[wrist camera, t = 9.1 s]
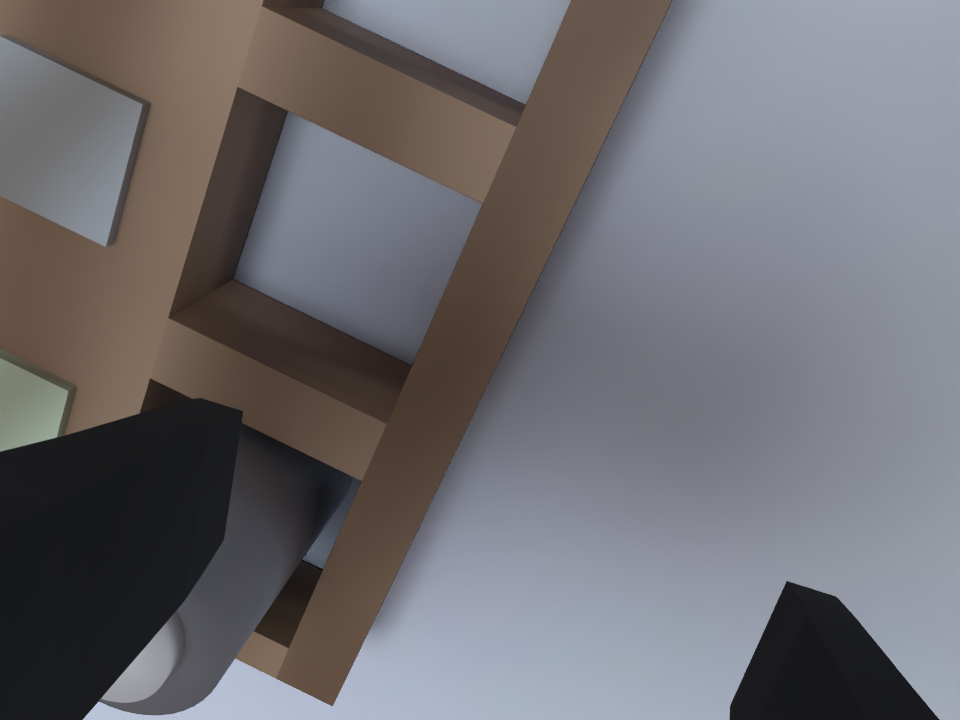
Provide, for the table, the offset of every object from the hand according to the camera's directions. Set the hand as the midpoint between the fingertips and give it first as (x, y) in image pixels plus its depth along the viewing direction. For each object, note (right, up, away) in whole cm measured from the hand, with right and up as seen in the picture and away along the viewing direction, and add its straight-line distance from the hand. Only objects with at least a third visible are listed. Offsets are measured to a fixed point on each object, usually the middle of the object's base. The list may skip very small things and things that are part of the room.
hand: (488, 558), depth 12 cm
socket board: (-5, +6, +9) cm, 12 cm away
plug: (-5, 0, +11) cm, 12 cm away
